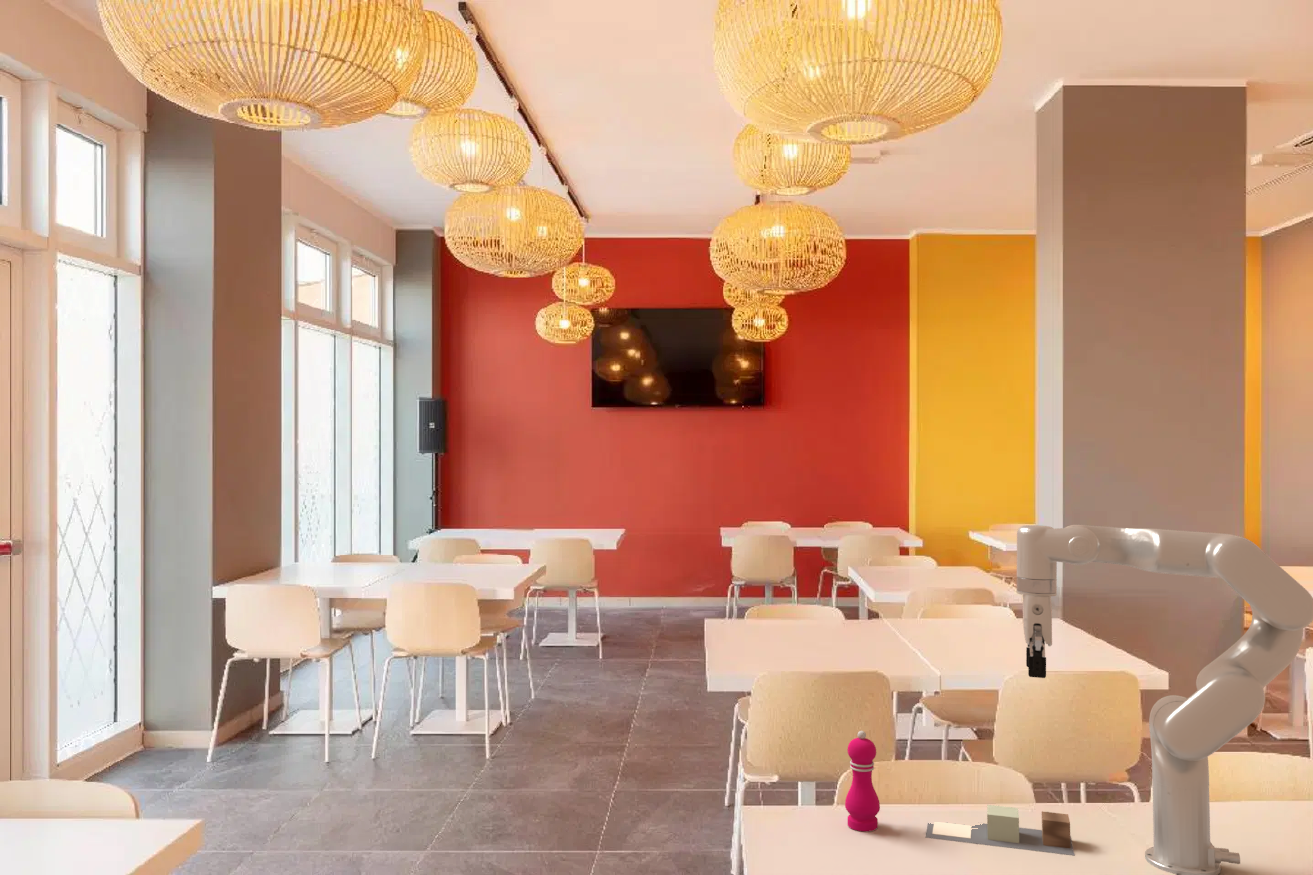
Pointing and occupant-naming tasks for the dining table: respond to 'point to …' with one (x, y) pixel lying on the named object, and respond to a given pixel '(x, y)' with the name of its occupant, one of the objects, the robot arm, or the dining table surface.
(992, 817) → the sage block
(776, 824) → the dining table surface
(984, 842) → the build mat
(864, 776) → the pepper mill
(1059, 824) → the walnut cube
